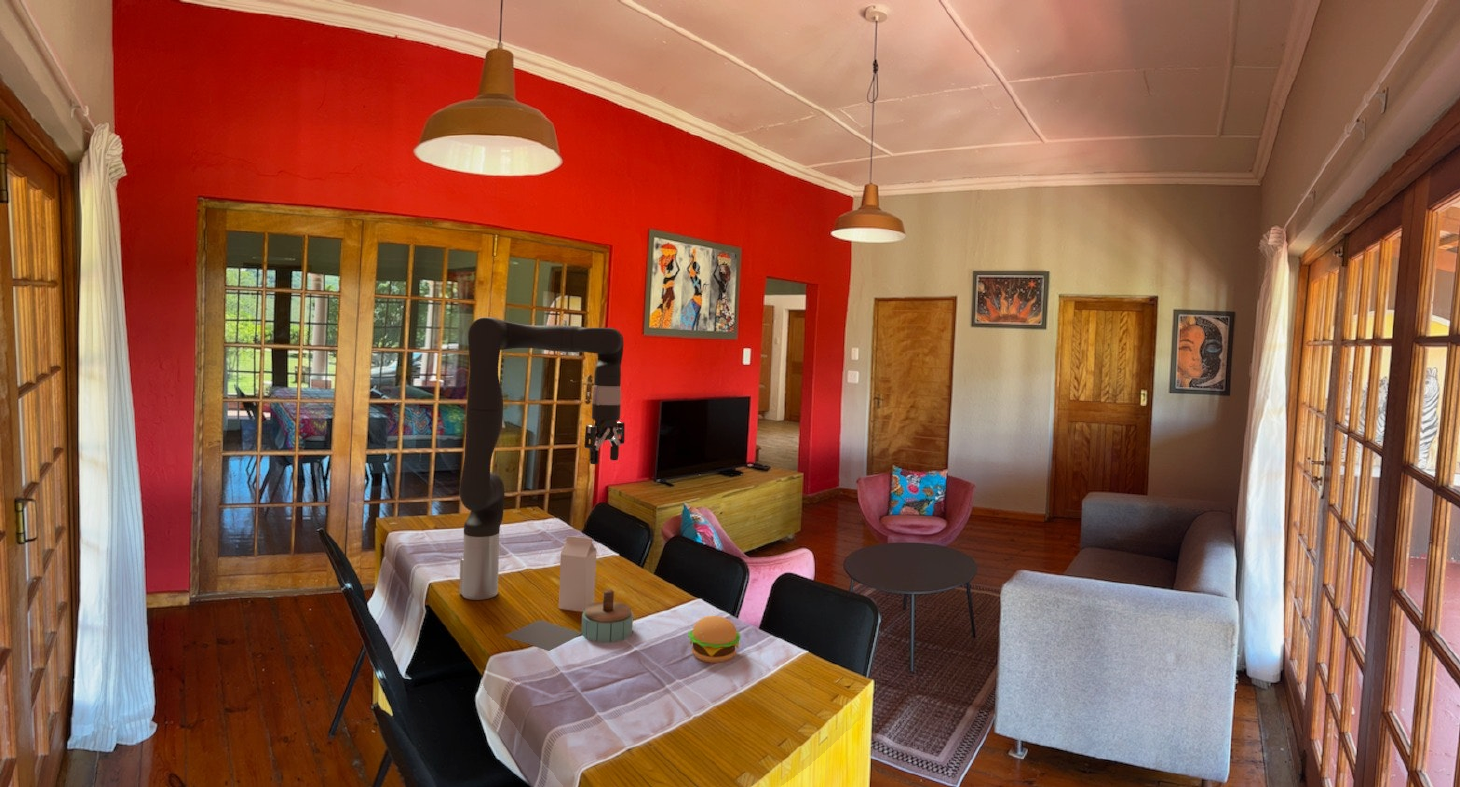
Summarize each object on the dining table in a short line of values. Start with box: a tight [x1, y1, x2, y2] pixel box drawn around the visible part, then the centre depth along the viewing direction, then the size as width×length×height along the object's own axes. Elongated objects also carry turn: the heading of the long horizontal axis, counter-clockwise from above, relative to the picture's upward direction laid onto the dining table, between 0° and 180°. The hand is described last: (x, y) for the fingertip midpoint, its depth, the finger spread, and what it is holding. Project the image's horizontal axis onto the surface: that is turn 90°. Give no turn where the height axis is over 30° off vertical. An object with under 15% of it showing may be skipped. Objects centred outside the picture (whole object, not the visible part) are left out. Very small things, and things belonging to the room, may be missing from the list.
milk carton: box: [558, 535, 597, 613], centre depth 192 cm, size 7×7×19 cm
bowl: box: [580, 610, 634, 643], centre depth 177 cm, size 12×12×5 cm
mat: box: [503, 619, 582, 652], centre depth 173 cm, size 14×12×1 cm
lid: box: [585, 589, 632, 623], centre depth 176 cm, size 11×11×6 cm
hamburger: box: [688, 615, 741, 664], centre depth 168 cm, size 12×12×9 cm
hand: (604, 462), depth 196 cm, fingers open, 8 cm apart
